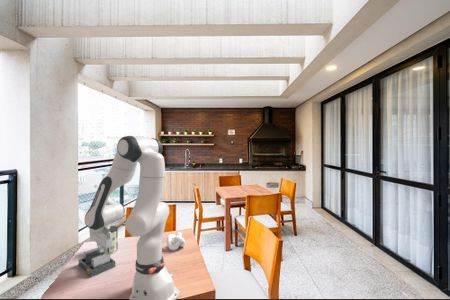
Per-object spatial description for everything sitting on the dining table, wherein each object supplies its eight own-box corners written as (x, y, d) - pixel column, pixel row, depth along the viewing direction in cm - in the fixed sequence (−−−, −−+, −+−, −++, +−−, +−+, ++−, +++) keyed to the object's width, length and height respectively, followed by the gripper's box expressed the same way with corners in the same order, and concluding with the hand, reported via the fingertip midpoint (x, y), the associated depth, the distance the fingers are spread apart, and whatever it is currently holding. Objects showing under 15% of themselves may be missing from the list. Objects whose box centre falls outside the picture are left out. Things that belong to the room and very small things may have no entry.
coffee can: (106, 246, 138) (106, 225, 138) (121, 247, 137) (121, 226, 137) (95, 254, 128) (95, 231, 127) (111, 255, 127) (111, 232, 126)
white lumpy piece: (166, 244, 142) (166, 231, 142) (184, 242, 145) (184, 229, 145) (166, 252, 131) (166, 238, 131) (185, 250, 134) (185, 236, 134)
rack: (115, 266, 115) (115, 254, 115) (90, 277, 105) (90, 263, 105) (101, 256, 126) (101, 244, 125) (77, 265, 116) (77, 252, 116)
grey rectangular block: (110, 265, 114) (110, 254, 114) (93, 272, 108) (93, 260, 108) (107, 263, 116) (107, 252, 116) (91, 270, 110) (91, 258, 110)
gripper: (116, 228, 108) (115, 255, 108) (99, 219, 121) (99, 243, 121) (103, 232, 103) (102, 260, 103) (87, 222, 116) (86, 247, 116)
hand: (100, 251), depth 112 cm, fingers closed
